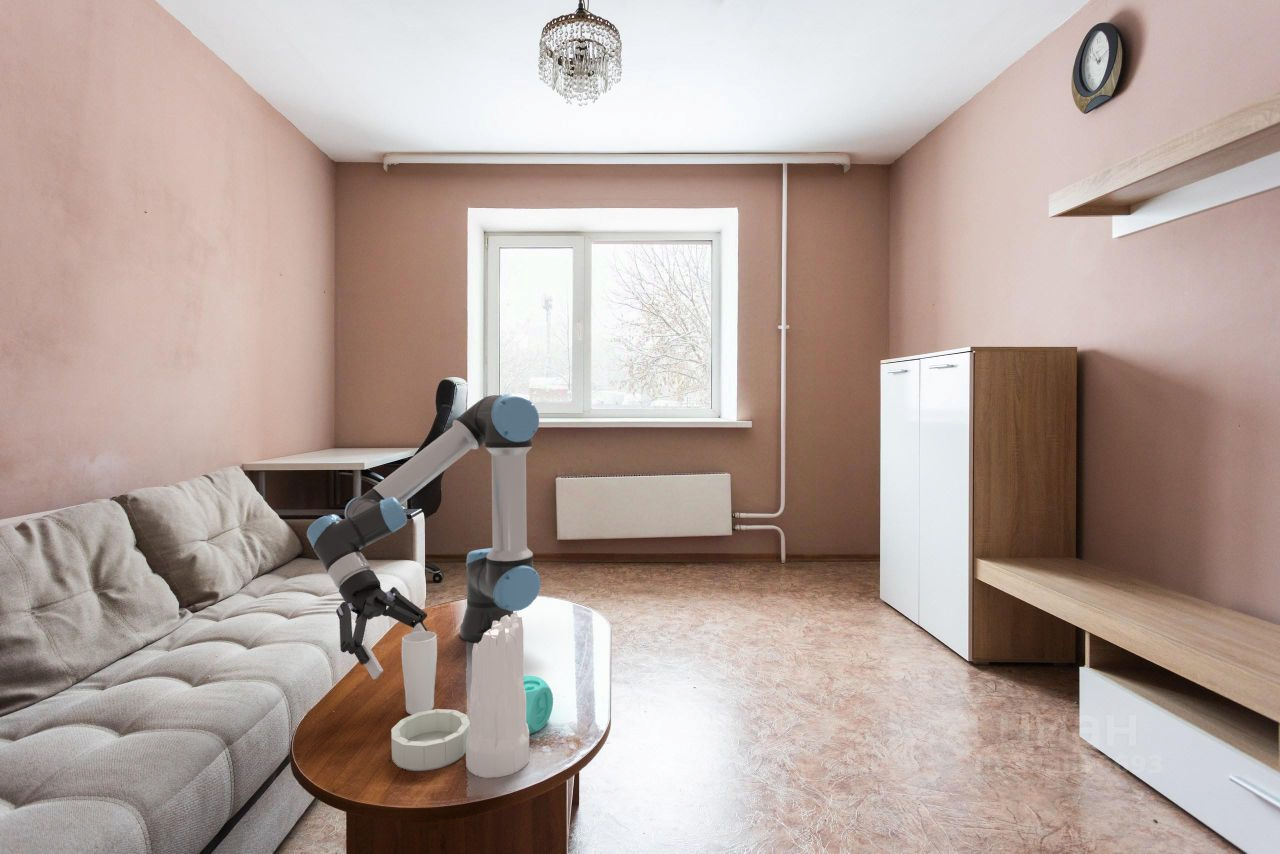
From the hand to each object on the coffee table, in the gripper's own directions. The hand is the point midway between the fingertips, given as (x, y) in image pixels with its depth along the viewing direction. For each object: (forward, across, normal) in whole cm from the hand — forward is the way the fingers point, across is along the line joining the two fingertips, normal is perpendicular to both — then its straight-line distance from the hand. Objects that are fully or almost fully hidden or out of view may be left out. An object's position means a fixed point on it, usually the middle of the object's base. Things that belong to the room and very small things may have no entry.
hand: (406, 663), depth 127 cm
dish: (+18, +9, +5) cm, 21 cm away
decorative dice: (+24, -6, +11) cm, 27 cm away
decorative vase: (+27, +6, +14) cm, 31 cm away
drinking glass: (+9, -1, -5) cm, 10 cm away
